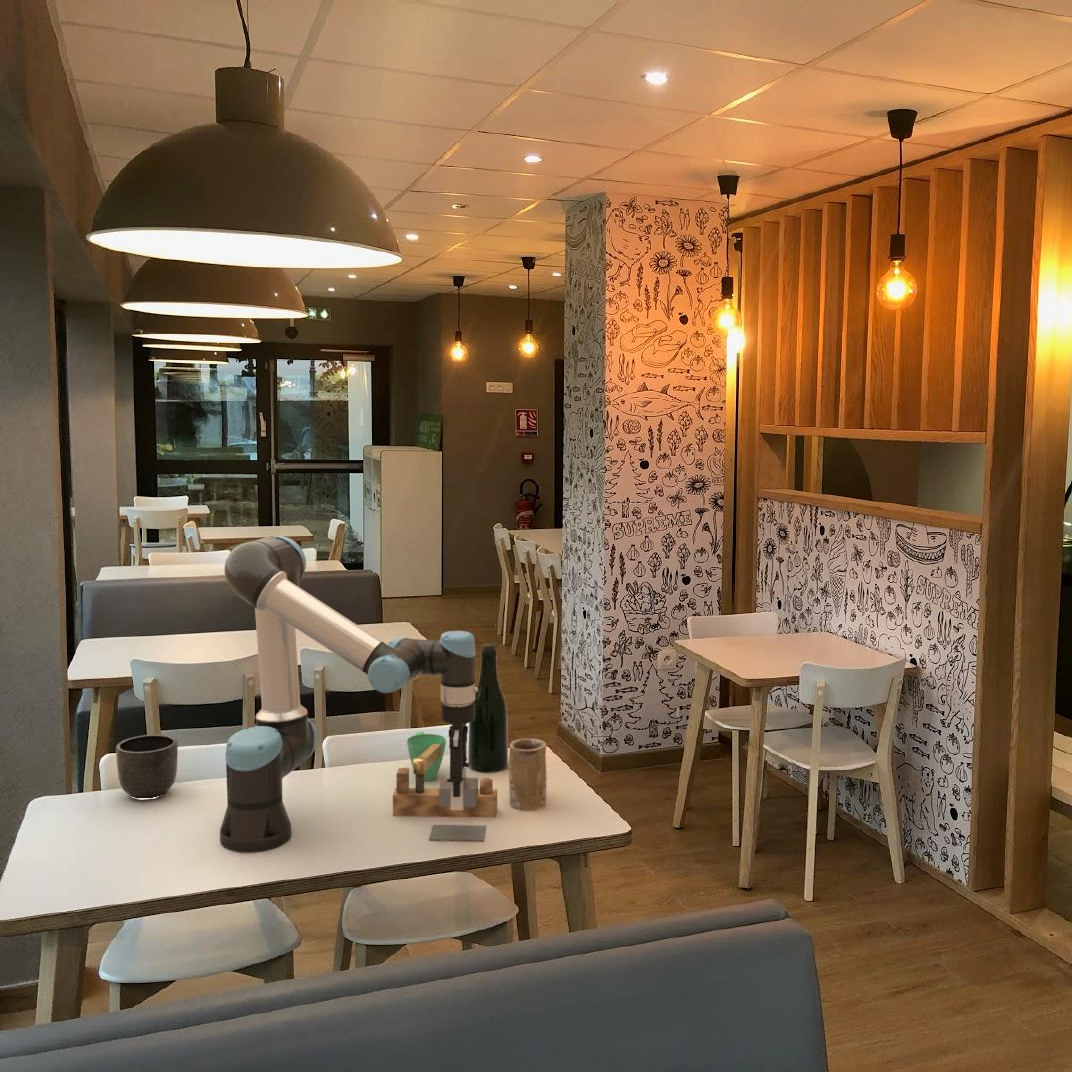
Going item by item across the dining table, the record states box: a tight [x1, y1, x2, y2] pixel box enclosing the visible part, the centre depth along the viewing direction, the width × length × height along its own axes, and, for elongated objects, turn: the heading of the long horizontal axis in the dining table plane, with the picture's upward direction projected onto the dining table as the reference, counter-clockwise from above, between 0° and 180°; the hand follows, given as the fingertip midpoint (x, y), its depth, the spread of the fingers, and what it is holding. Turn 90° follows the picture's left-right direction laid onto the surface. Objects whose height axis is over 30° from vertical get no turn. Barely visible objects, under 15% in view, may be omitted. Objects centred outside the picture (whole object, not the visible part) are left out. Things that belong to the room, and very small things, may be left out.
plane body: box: [392, 767, 498, 818], centre depth 241 cm, size 24×5×10 cm, turn 89°
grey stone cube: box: [438, 777, 479, 807], centre depth 229 cm, size 8×7×4 cm
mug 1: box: [406, 731, 447, 782], centre depth 266 cm, size 15×10×10 cm
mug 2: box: [508, 738, 548, 811], centre depth 249 cm, size 9×13×15 cm
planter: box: [115, 734, 179, 798], centre depth 250 cm, size 14×14×13 cm
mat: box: [428, 824, 487, 843], centre depth 230 cm, size 12×8×1 cm, turn 89°
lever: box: [412, 744, 441, 775], centre depth 246 cm, size 14×3×3 cm, turn 166°
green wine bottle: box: [467, 642, 509, 773], centre depth 272 cm, size 10×10×33 cm
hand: (458, 802), depth 229 cm, fingers closed on grey stone cube, 7 cm apart
